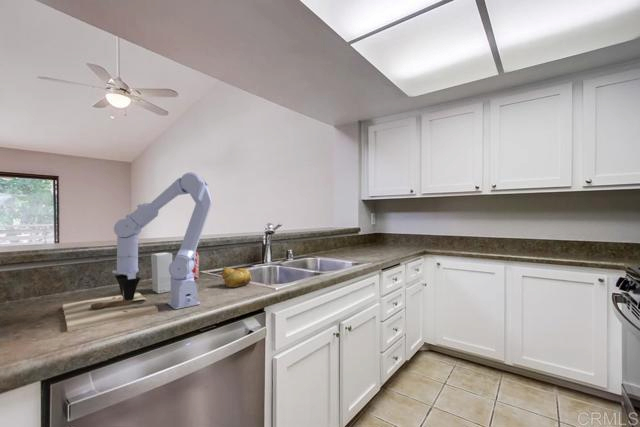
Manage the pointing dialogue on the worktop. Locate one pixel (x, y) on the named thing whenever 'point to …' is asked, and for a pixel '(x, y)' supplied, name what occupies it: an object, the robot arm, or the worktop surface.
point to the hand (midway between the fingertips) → (127, 297)
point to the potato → (236, 277)
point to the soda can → (196, 268)
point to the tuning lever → (114, 303)
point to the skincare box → (161, 272)
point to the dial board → (104, 311)
